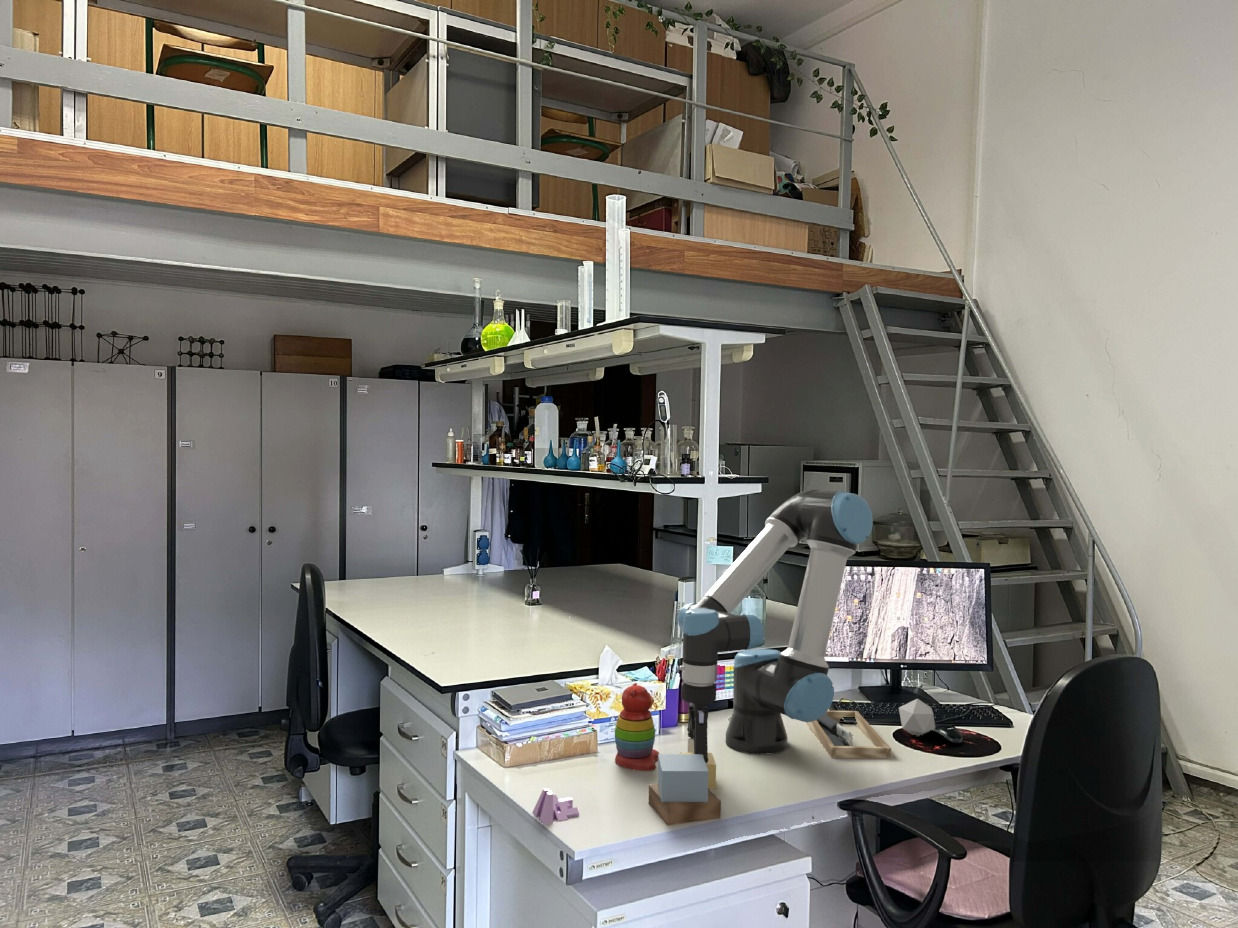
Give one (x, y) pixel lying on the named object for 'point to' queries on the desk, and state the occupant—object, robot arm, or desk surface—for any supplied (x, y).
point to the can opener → (835, 731)
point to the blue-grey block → (682, 778)
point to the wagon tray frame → (852, 751)
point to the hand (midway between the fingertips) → (695, 779)
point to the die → (917, 717)
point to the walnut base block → (684, 808)
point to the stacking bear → (636, 731)
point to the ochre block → (710, 771)
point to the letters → (554, 808)
